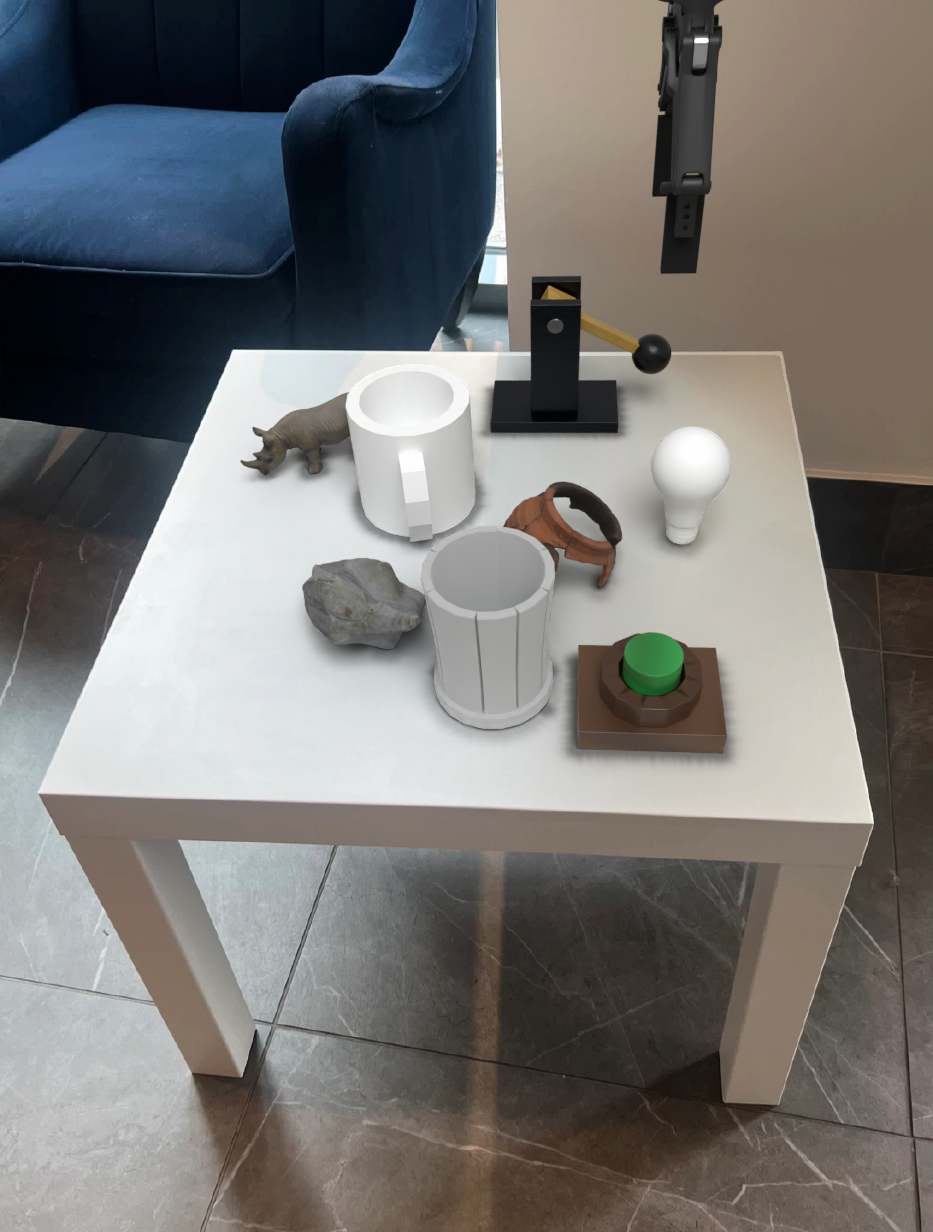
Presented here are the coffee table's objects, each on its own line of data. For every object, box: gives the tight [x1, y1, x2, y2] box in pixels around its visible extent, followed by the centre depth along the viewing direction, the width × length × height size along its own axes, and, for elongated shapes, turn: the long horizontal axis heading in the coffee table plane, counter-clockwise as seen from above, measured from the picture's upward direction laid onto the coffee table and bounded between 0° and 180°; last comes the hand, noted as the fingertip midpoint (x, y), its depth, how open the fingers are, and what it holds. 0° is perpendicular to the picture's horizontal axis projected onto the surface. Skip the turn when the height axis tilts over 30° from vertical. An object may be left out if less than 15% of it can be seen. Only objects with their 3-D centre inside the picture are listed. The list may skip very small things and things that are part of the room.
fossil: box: [301, 557, 427, 650], centre depth 76 cm, size 11×9×8 cm
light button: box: [622, 631, 684, 696], centre depth 69 cm, size 4×4×2 cm
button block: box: [577, 632, 728, 754], centre depth 71 cm, size 10×8×4 cm
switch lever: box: [540, 286, 672, 375], centre depth 91 cm, size 13×4×4 cm, turn 85°
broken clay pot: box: [502, 481, 623, 588], centre depth 80 cm, size 12×10×8 cm
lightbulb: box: [650, 425, 732, 545], centre depth 80 cm, size 6×6×11 cm
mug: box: [346, 363, 476, 543], centre depth 85 cm, size 14×10×11 cm
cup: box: [420, 525, 556, 730], centre depth 71 cm, size 10×9×12 cm
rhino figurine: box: [239, 391, 351, 477], centre depth 92 cm, size 4×14×6 cm, turn 118°
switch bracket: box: [490, 275, 619, 434], centre depth 93 cm, size 12×7×13 cm, turn 86°
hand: (672, 231), depth 82 cm, fingers open, 13 cm apart
